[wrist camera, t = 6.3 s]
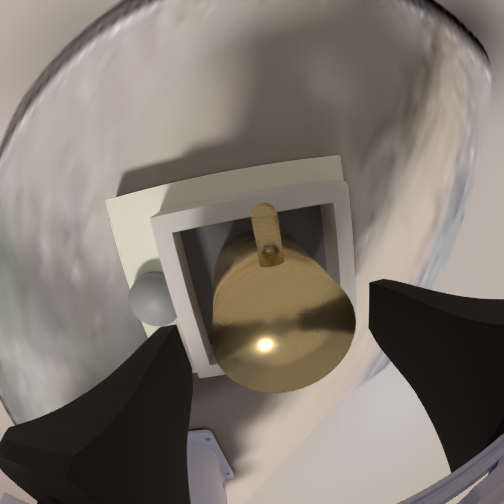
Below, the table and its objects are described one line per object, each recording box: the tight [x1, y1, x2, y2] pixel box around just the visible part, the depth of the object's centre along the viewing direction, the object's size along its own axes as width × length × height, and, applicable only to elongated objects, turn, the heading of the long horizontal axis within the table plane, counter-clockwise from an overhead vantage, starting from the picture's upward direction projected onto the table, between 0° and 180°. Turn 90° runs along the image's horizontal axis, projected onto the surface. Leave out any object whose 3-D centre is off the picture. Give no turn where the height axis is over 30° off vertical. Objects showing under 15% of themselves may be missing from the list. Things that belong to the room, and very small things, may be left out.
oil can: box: [212, 202, 356, 393], centre depth 11 cm, size 7×5×6 cm
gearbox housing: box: [105, 155, 356, 378], centre depth 14 cm, size 11×12×4 cm
